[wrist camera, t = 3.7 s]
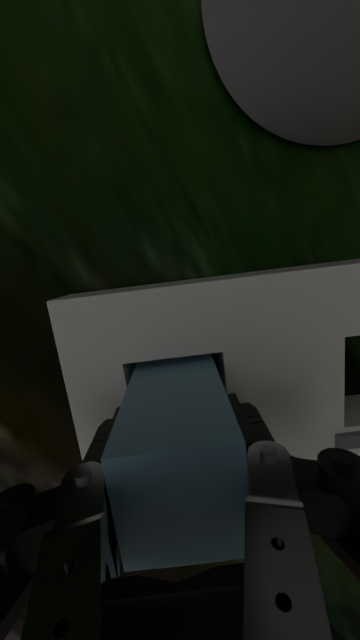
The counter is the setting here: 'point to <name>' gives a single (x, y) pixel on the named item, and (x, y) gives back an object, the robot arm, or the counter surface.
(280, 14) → the cylinder vase
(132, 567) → the plug
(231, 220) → the counter surface
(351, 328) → the port panel
